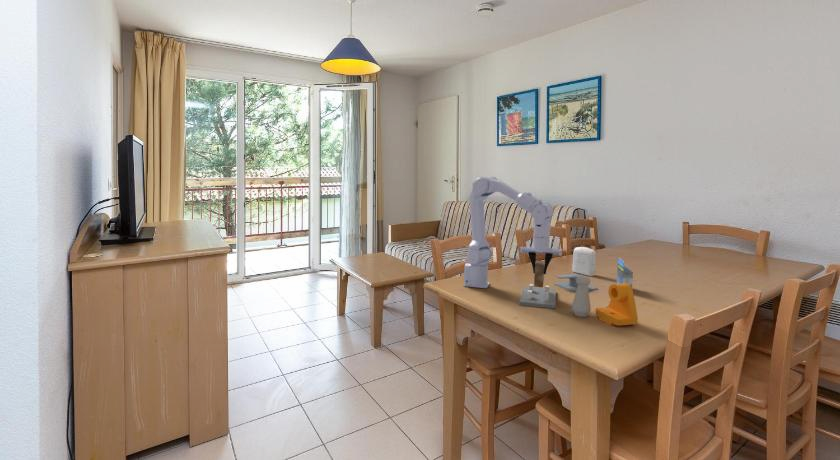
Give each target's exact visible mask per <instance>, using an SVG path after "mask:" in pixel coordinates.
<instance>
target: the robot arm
mask: <svg viewBox="0 0 840 460" xmlns="http://www.w3.org/2000/svg"><path fill="white" fill-rule="evenodd" d="M471 184H472V188H471V192H470V194H469V210H470V227H471V242H470V243H469V245H468V246H467V247H468V251H467V253H466V258H467V261H468V262H466V263H465V265H464V270H463V287H467V288H468V287H469V288H470V287H471V288H482V289H487V288H488V287H489V286H490V283H491V282H489V281H488V277H489V262H490V260H491V259H492V254H493V253H492V250H491V248H490V243H489V242H488V241H487V236H486V220H485V205H484V202H485V201H486V199H488V197H489V196H491V195H492V194H495V193H501V194H502V195H504V196H506V197H508V198H509V199H512V200H513V201H515V202H516V203H515V204H516V205H517V207H519V208H521V209H523V210H524V211H525V212H527V213H529V214H531V216H532V217H533V235H532V236H533V237H532V246H520V247H519V248H520V249H519V253H521V254H528V258H529V260H530V263H531V266H532V267H531V268H532V273H533V274H535V265H536V261H537V254H541V255H545V256H544V261H545V267H544V275H546V274H547V269H548V267H549V265H550V262H551V260H552V259H553V255H554V256H562V255H563V249H562V248H561V249H560V248H552V247H550V238H551V222H552V221H551V217H552V216H553V215H554V213H555V211H554V209H555V208H554V206H553V205H552V204H551V203H549V202H543V199H538V198H536V197H534V196H533V194H532V192H526V191H525V192H522V193H521V192H519V191H518V190H516V189H515V188H514V187H512V186H510V185H509V184H507V183H506V182H504V181H503V180H502V179H500V178H497V177H495V176H489V177H487V176H486V177H485V176H484V177H483V176H478V177H477V178H476V179H475V180H474V181H473V182H472V183H471Z"/></svg>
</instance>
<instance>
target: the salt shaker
mask: <svg viewBox="0 0 840 460" xmlns="http://www.w3.org/2000/svg"><path fill="white" fill-rule="evenodd" d="M576 283H577V284H578V286H577V290H576V292H574V293H575V294H574V298H573V302H572V305H571V311H572V312H573V315H574V316H576V317H577V318H587V317H589V315H590V313H591V301H590V299H591V298H590V290H588V285H591V278H590V276H588V275H581V276H578V277H577V278H576Z"/></svg>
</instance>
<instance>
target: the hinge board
mask: <svg viewBox="0 0 840 460" xmlns="http://www.w3.org/2000/svg"><path fill="white" fill-rule="evenodd" d="M556 294H557V293H556V289H555V288H554V289H552V288H550V285H545V287H534V284H533V283H529V286H523V288H522V291H521V295H520V299H519V306H525V307H526V306H527V307H534V308H536V307H537V308H546V309H556V297H557V296H556Z"/></svg>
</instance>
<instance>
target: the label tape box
mask: <svg viewBox="0 0 840 460" xmlns="http://www.w3.org/2000/svg"><path fill="white" fill-rule="evenodd" d="M616 273H617V274H616V284H625V283H627V284H629V285H630V286H631V287H632V288H633V281H634V280H633V278H634V277H633V276H634V272H633V271H632V270H631V269H629V268H628V267H627V266H625V261H624V260H622V258H621V257H618V260H617V271H616Z"/></svg>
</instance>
